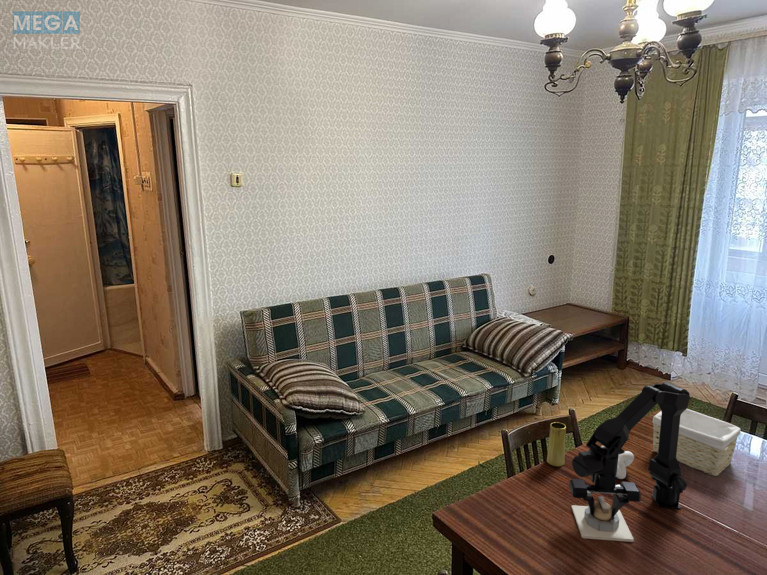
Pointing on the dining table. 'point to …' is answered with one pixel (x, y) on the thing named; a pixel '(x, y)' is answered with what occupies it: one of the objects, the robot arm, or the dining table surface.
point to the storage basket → (702, 441)
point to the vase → (556, 444)
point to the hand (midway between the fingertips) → (601, 515)
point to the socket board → (601, 526)
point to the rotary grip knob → (602, 510)
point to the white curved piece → (623, 463)
